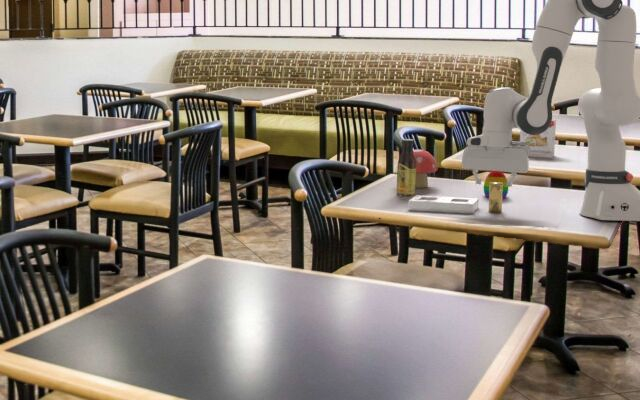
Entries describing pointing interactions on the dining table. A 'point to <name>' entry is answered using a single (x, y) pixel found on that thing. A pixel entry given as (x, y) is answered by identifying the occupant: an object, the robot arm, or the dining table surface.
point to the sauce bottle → (406, 169)
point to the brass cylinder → (495, 197)
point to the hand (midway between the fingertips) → (493, 185)
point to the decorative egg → (495, 177)
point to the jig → (443, 204)
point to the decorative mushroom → (423, 167)
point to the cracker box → (541, 142)
